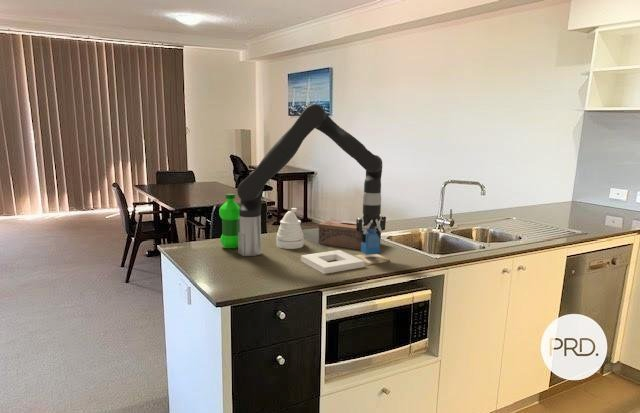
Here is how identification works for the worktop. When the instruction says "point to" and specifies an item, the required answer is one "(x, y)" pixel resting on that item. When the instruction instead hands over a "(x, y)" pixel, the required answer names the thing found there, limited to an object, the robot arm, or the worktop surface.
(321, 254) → the socket block
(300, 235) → the honey pot
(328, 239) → the tissue box cover
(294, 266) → the worktop surface
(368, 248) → the perfume bottle
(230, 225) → the plastic bottle
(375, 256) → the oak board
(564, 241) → the worktop surface
